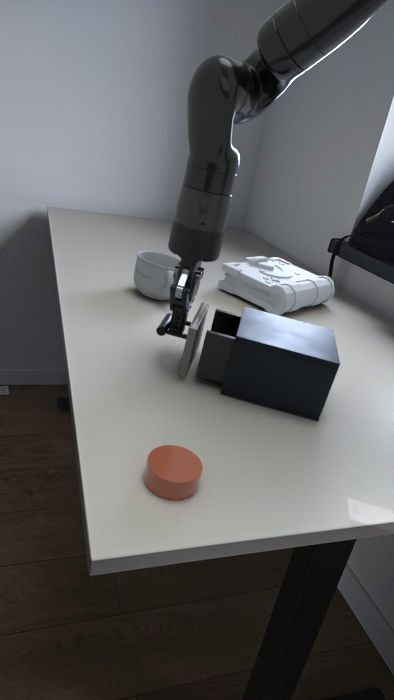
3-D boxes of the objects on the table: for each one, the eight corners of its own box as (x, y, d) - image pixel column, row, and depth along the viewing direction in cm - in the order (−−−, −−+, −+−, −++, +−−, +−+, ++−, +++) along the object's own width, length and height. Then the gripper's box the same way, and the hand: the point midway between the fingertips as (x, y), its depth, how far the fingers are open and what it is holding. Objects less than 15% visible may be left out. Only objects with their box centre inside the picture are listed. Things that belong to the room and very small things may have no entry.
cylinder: (202, 470, 56) (206, 453, 55) (192, 506, 51) (197, 489, 50) (151, 455, 57) (155, 439, 56) (136, 490, 51) (140, 472, 50)
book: (339, 303, 124) (350, 275, 121) (279, 321, 104) (289, 287, 101) (277, 276, 135) (286, 249, 131) (212, 287, 115) (219, 255, 111)
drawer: (146, 366, 73) (155, 318, 70) (164, 336, 83) (172, 294, 80) (267, 399, 72) (282, 352, 68) (270, 365, 82) (283, 323, 79)
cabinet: (220, 394, 72) (236, 336, 68) (230, 358, 83) (244, 306, 79) (318, 421, 71) (340, 364, 67) (314, 381, 82) (333, 329, 78)
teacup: (131, 281, 107) (137, 245, 103) (180, 289, 109) (187, 254, 105) (130, 306, 94) (136, 266, 91) (185, 315, 96) (194, 276, 93)
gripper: (219, 237, 63) (191, 356, 70) (231, 220, 74) (206, 323, 82) (162, 223, 63) (141, 342, 71) (183, 208, 75) (162, 311, 82)
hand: (176, 332), depth 76 cm, fingers closed
